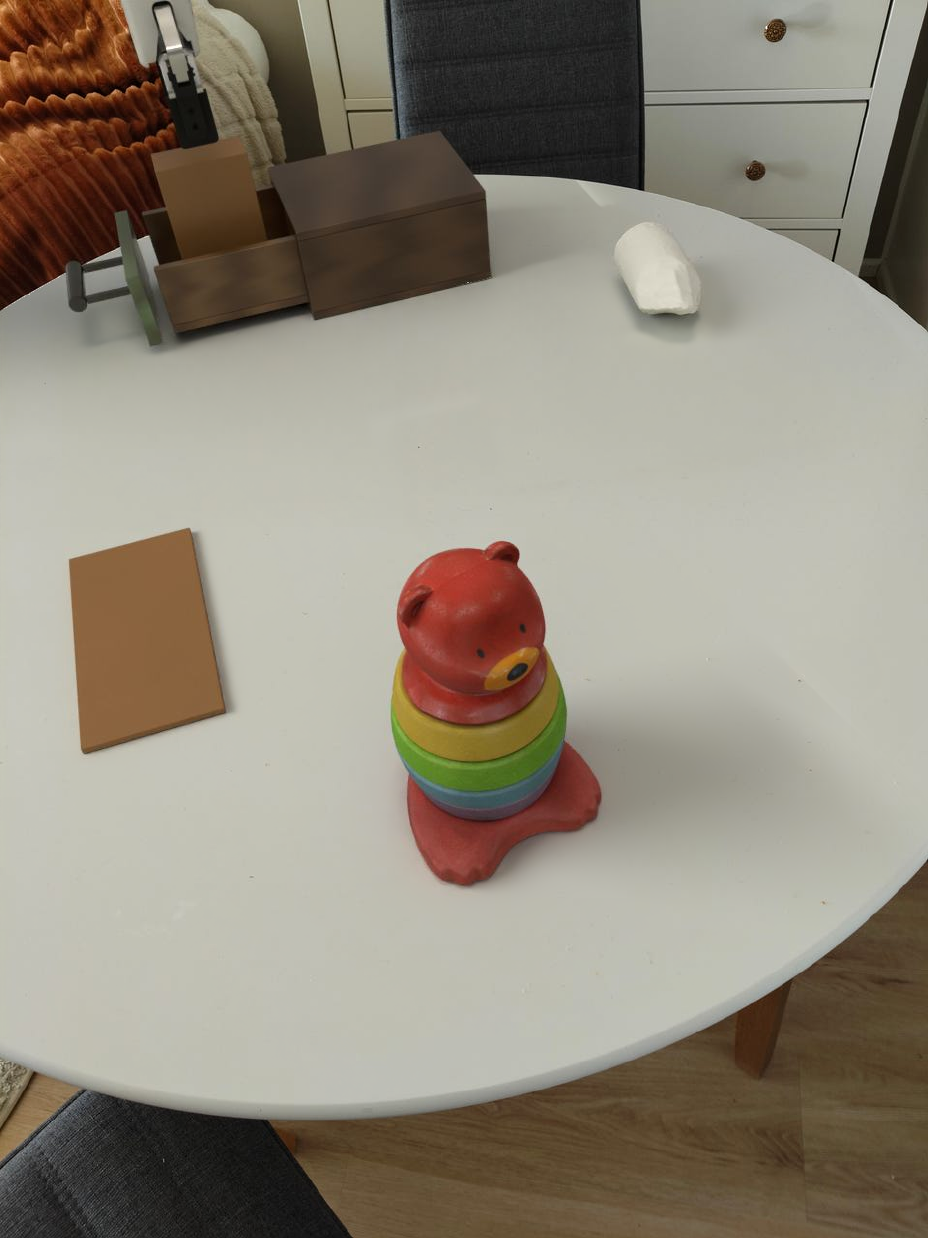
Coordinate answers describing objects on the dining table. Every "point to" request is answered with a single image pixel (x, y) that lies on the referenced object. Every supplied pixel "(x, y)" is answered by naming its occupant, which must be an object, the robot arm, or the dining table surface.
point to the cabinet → (385, 222)
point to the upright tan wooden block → (210, 197)
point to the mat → (141, 641)
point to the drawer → (201, 273)
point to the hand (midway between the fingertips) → (193, 122)
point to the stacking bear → (481, 715)
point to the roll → (657, 270)
